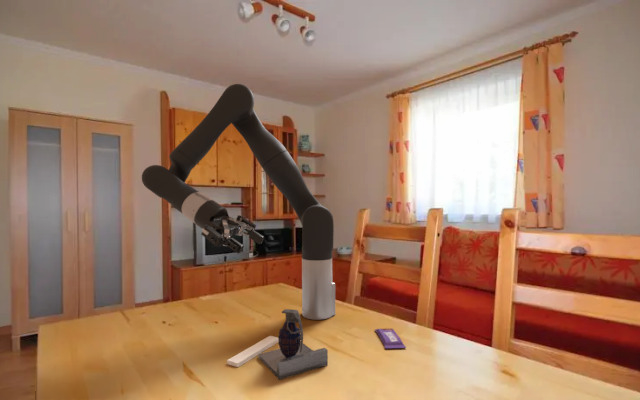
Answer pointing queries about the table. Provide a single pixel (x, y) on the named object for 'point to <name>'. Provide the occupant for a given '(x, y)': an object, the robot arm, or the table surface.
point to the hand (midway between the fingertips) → (252, 245)
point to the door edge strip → (252, 351)
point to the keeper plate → (294, 361)
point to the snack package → (390, 338)
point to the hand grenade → (291, 334)
